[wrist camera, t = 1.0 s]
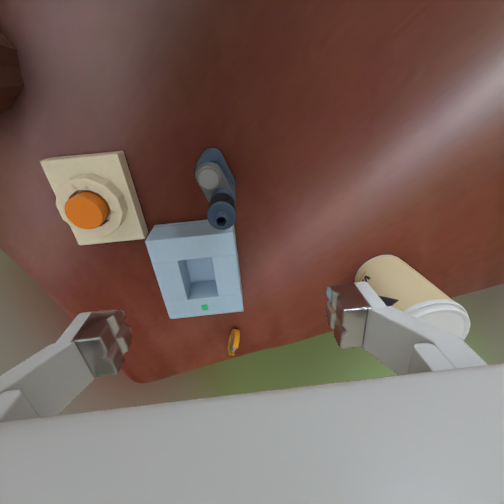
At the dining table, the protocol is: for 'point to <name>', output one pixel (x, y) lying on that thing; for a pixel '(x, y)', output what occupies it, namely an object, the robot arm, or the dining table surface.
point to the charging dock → (196, 268)
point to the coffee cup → (413, 294)
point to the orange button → (86, 210)
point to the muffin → (8, 74)
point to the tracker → (233, 341)
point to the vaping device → (217, 188)
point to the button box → (103, 184)
